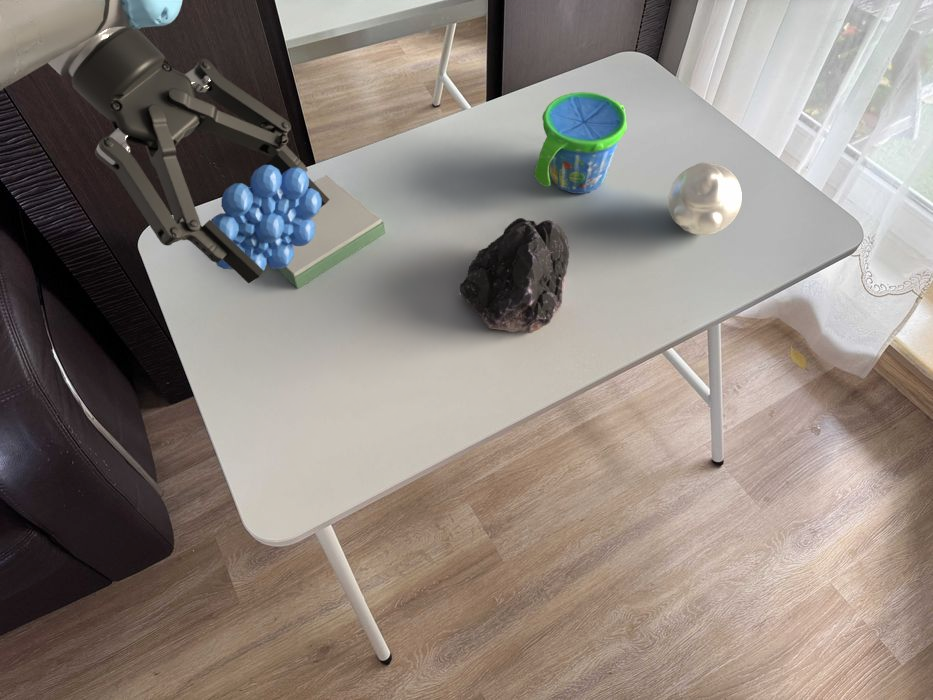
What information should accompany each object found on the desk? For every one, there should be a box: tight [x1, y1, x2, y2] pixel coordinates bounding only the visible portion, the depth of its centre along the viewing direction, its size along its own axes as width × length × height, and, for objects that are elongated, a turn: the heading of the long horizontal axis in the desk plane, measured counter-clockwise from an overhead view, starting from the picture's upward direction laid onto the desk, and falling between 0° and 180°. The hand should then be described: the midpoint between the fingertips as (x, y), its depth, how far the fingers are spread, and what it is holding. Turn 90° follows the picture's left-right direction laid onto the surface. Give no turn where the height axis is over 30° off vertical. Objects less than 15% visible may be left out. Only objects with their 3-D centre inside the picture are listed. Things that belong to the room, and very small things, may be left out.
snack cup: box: [534, 91, 628, 195], centre depth 95 cm, size 16×10×10 cm
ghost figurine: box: [667, 162, 743, 236], centre depth 89 cm, size 9×10×10 cm
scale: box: [277, 174, 386, 289], centre depth 93 cm, size 14×13×3 cm
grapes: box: [210, 164, 322, 272], centre depth 69 cm, size 12×7×12 cm, turn 122°
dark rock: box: [459, 217, 570, 334], centre depth 84 cm, size 13×14×10 cm
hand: (290, 240), depth 70 cm, fingers closed on grapes, 10 cm apart
